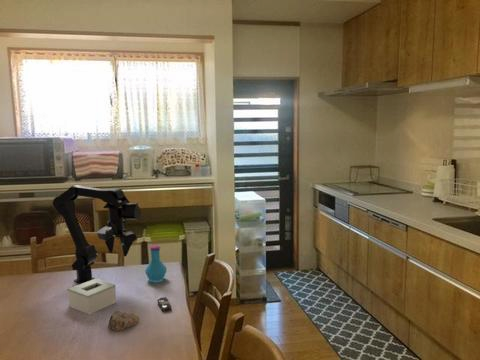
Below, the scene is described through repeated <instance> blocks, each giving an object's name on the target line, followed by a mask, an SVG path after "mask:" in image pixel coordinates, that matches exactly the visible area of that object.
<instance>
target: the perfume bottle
mask: <svg viewBox="0 0 480 360" xmlns="http://www.w3.org/2000/svg"><path fill="white" fill-rule="evenodd" d="M149 249H150V254H151V256H150V257H151V260H150V262H149V264H148V265H147V267H146V268H145V270H144V271H145V274H146V276H147V279H148V281H149V282H150V283H160V282H163V281H164V280H165V276H166V273H167V271H168V270H167V269H168V267H167V266H166V265H165V264H164V262H162V261H161V259H160V257H161V256H160V249H161V246H159V245H151V246H150V247H149ZM157 281H158V282H157Z"/></svg>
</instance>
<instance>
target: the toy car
mask: <svg viewBox="0 0 480 360" xmlns="http://www.w3.org/2000/svg"><path fill="white" fill-rule="evenodd" d="M156 283H158V286H159V282H158V281H157V282H156ZM160 295H161V292H160ZM156 302H157V306H158V307H160V309H161V312H167V311H172V309H173V308H172V305H171V302H170V301H169V299H168V298H167V297H165V296H164V297H160V298H158V299H157V301H156Z"/></svg>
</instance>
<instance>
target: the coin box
mask: <svg viewBox="0 0 480 360" xmlns="http://www.w3.org/2000/svg"><path fill="white" fill-rule="evenodd" d="M116 289H117V288H116V284H114V283H111V282H108V281H104V280H101V279H98V278H95V279H93V280H90V281H88V282H85V283H82V284H81V283H79V284H77V285H75V286H71V287H70V288H68V289H67V290H68V291H67V293H68V303H69V304H68V306H69V307H70V308H73V309H75V310H77V311H80V312H82V313H85V314H87V315H91V314H94V313H96V312H98V311H100V310H102V309H105V308H107V307H109V306H111V305H114V304H115V303H117V291H116Z"/></svg>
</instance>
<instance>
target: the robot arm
mask: <svg viewBox="0 0 480 360" xmlns="http://www.w3.org/2000/svg"><path fill="white" fill-rule="evenodd" d="M79 197H85V198H91V199H92V198H93V199H98V200H101V201H102V202H104V203H106V204H105V205H104V206H103V207H102V208H103V209H108V221H106V225H105V226H104V227H101V228H100V229H98V231H96V233H97V237H98V238H99V240H102V241H104V243H105V245H106V247H107V249H108V252H109V254H112V253H113V251H114V250H113V249H114V244H115V238H118V239H119V243H120V244H121V246H122V252H123V254H122V255H123V257H127V256H128V254H129V250H130V249H131V247H132V245H133V243H134V242H135V241H136V240H138V236H137V234H136V232H131V231H128V232H127V231H126V230H127V229H125V228H124V224H126V220H136V221H138V220H139V219H140V218H141V215H142V210H141V207H140V206H139V203H138V202H135V203H134V202H133V203H131V202H130V200H129V199H128V198H127V196H126V194H125V193H124V191H123V189H122V188H119V187H118V188H117V187H116V188H98V187H92V186H83V185H80V184H76V185H72V186H70V187H69V188H68V189H67V190H66V191H64V192H62V193H61V194H59V195H58V196H56V197H54V199H53V200H52V206H53V207H54V210H55V211H56V212H57V213H58V214H59V215H60V216H61V217H62V218H63V220H64V223H65V225H66V227H67V229H68V232H69V234H70V236H71V240H72V241H73V243H74V246H75V260H74V262H73V263H72V264H71V268H72V270H73V271H76V278H75V279H73V282H75V283H78V284H82V283H85V282H88V281H90V280H93V279H96V278H95V277H93V273H92V267H91V266H92V265H94V264H95V261H96V260H97V258H98V251H97V250H96V247H95V245H94V244H90V243H88V241H87V239H86V237H85V234H84V231H83V229H82V227H81V224H80V223H79V220H78V218H77V215H76V211H75V210H76V204H75V203H76V200H77V199H78V198H79Z"/></svg>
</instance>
